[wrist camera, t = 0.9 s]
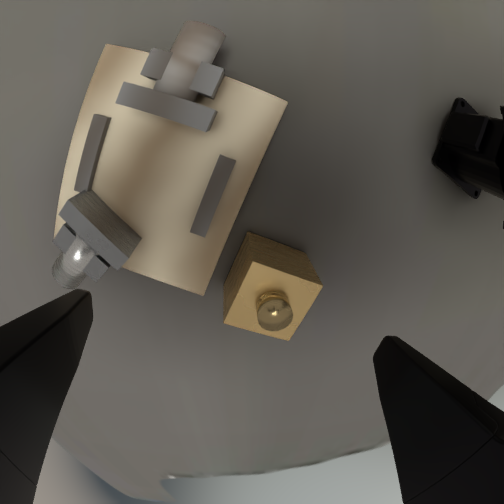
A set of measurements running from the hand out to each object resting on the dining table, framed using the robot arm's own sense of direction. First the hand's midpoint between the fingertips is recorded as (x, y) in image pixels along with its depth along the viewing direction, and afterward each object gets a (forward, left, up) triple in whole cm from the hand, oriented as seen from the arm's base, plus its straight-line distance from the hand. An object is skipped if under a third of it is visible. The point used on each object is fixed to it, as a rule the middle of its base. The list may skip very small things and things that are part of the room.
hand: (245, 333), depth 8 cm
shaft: (+9, +5, -11) cm, 15 cm away
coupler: (-4, +4, -12) cm, 13 cm away
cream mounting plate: (+6, 0, -12) cm, 14 cm away
